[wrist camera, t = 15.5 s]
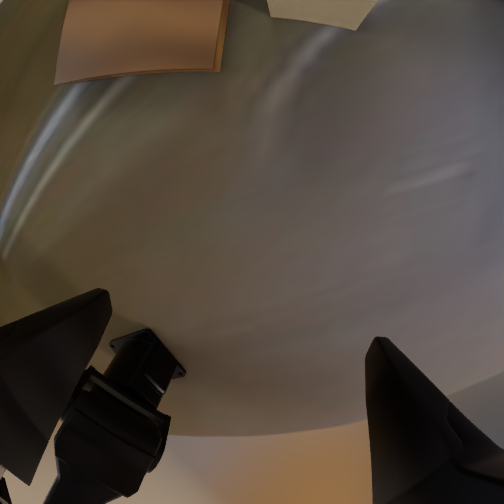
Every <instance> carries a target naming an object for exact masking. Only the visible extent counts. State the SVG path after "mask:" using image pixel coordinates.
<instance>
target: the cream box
mask: <svg viewBox="0 0 504 504" xmlns="http://www.w3.org/2000/svg"><path fill="white" fill-rule="evenodd" d="M377 1H378V0H267V3H268V7H269V12H270V16H271V17H276V18H286V19H294V20H301V21H308V22H315V23H320V24H326V25H331V26H336V27H341V28H345V29H350V30H354V31H356V29H357V28H358V27H359V25H360V24H361V23H362V21H363V20H364V19H365V17H366V16H367V15H368V13H369V12H370V10H371V9H372V8H373V6H374V5H375V4H376V3H377Z"/></svg>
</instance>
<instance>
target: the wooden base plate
mask: <svg viewBox="0 0 504 504" xmlns="http://www.w3.org/2000/svg"><path fill="white" fill-rule="evenodd" d="M229 5H230V0H69V4H68V8H67V12H66V16H65V20H64V25H63V30H62V35H61V40H60V45H59V51H58V58H57V65H56V73H55V82H54V85H60V84H65V83H79V82H84V81H90V80H96V79H103V78H110V77H118V76H127V75H137V74H149V73H166V72H220V68H221V60H222V53H223V46H224V38H225V31H226V25H227V18H228V12H229Z"/></svg>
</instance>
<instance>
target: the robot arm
mask: <svg viewBox="0 0 504 504" xmlns="http://www.w3.org/2000/svg"><path fill="white" fill-rule="evenodd" d="M111 315H112V305H111V300H110V295H109V292H108V291H107V290H104V289H100V288H96V289H94V290H91V291H89V292H86V293H84V294H81V295H79V296H76V297H74V298H71V299H68V300H66V301H63V302H61V303H58V304H56V305H53V306H51V307H48V308H46V309H43V310H41V311H39V312H36V313H34V314H31V315H29V316H26V317H24V318H21V319H19V320H18V321H17V320H16V321H14V322H12V323H9V324H7V325H4V326H2V327H0V504H12V503H11V499H10V496H9V492H8V489H7V485H6V481H5V478H4V477H2V476H3V474H4V472H5V471H6V469H7V470H9V471H10V472H11V473H12V474H14V475H15V476H16V477H18V478H19V479H20V480H21V481H23V482H24V483H26V484H27V485H28V486H30V484H31V482H32V480H33V477H34V475H35V472H36V470H37V467H38V465H39V463H40V460H41V458H42V455H43V453H44V451H45V449H46V447H47V444H48V442H49V441H48V440H50V437H51V435H52V433H53V431H54V429H55V427H56V425H57V422H58V420H61V421H62V422H63V423H62V425H61V427H60V428H59V430H58V432H57V434H56V435H55V438H54V448H55V456H56V465H57V473H58V475H57V477H56V479H55V481H54V483H53V485H52V486H51V488H50V490H49V492H48V494H47V496H46V498H45V500H44V502H43V504H106V503H108V502H110V501H112V500H114V499H117V498H119V497H121V496H124V497H127V498H128V497H130V496H131V495H133V494H135V493H136V492H137V491H138V490H139V487H140V485H141V483H142V480H143V478H144V476H145V474H146V473H149V472H151V471H152V470H153V469H154V468H155V467H156V466H157V464H158V463H159V461H160V459H161V457H162V455H163V452H164V449H165V445H166V440H167V435H168V430H169V426H170V421H171V417H170V416H168V415H167V414H166V415H165V414H163V413H161V412H160V411H158V410H157V408H158V405H159V403H160V401H161V398H162V396H163V394H165V393H166V390H167V388H168V386H169V383H170V381H171V379H175V378H180V377H184V376H185V374H186V371H185V369H184V368H183V367H182V366H181V365H180V364H179V363H178V362H177V360H176V359H175V358H174V357H173V356H172V355H171V353H170V352H169V351H168V350H167V349H166V348H165V346H164V345H163V344H162V343H161V342H160V340H159V339H158V338H157V337H156V336H155V334H154V333H153V332H152V331H151V330H150V329H147V328H146V329H143V330H140V331H137V332H134V333H131V334H129V335H126V336H123V337H120V338H117V339H114V340H111V341H110V343H109V346H110V347H111V349H112V350H113V351H114V352H115V353H116V355H115V357H114V358H113V360H112V361H111V363H110V364H109V366H108V368H107V369H106V371H105V372H104V374H103V375H102V374H101V373H99V372H98V371H97V370H95V368H94V367H93V366H91V365H90V367H89V368H88V369H86V370H85V368H86V367H87V365H88V363H89V361H90V359H91V358H92V356H93V354H94V352H95V350H96V348H97V346H98V344H99V342H100V340H101V337H102V335H103V333H104V331H105V329H106V326H107V324H108V322H109V320H110V318H111ZM365 385H366V408H367V417H368V426H369V439H370V452H371V468H372V493H373V504H504V449H502V448H500V447H499V446H498V445H496V444H495V443H494V442H493V441H492V440H491V439H490V438H488V437H487V436H486V435H485V434H484V433H483V432H482V431H481V430H479V429H478V428H477V427H476V426H475V425H474V424H473V423H472V422H471V421H470V420H468V419H467V418H466V417H465V416H464V415H463V414H462V413H461V412H460V411H459V410H458V409H457V408H456V407H455V406H454V405H453V404H452V402H450V401H449V399H448V398H447V397H446V396H445V395H444V394H443V393H442V392H441V391H440V390H439V389H438V388H437V387H436V386H435V385H434V384H433V383H432V382H431V381H430V380H429V379H428V378H427V377H426V376H425V375H424V374H423V373H422V372H421V371H420V370H419V369H418V368H417V367H416V366H415V365H414V364H413V363H412V362H411V361H410V360H409V359H408V358H407V357H406V356H405V355H404V354H403V353H402V352H401V351H400V350H399V349H398V348H397V347H396V346H395V345H394V344H393V343H392V342H391V341H390V340H389V339H388V338H386V337H375V338H374V339H373V341H372V343H371V345H370V347H369V350H368V352H367V354H366V357H365Z"/></svg>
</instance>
